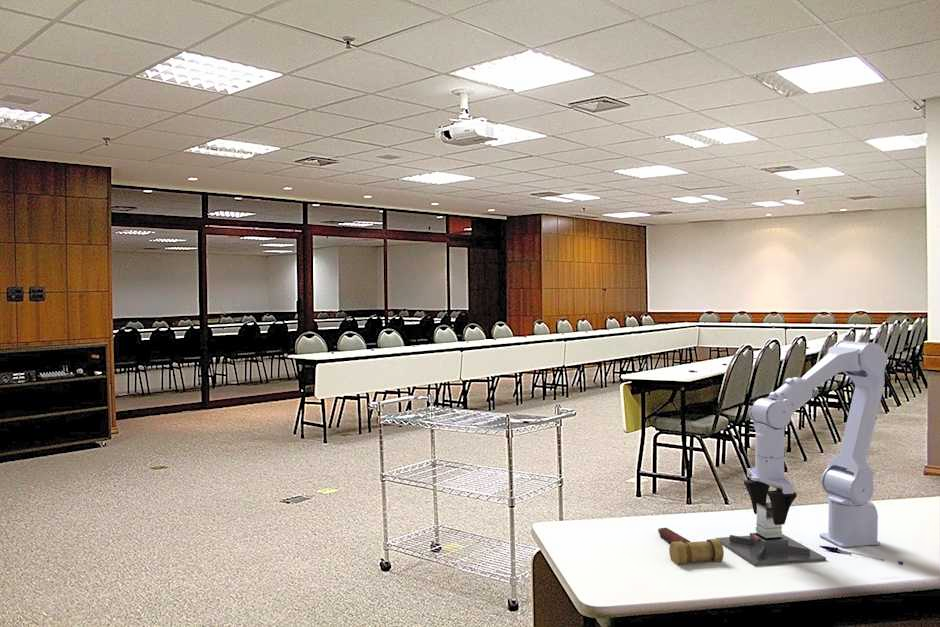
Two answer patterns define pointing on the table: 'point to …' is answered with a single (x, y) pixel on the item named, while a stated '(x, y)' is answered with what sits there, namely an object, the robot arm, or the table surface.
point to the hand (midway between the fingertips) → (769, 518)
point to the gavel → (691, 548)
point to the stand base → (769, 550)
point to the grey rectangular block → (767, 521)
